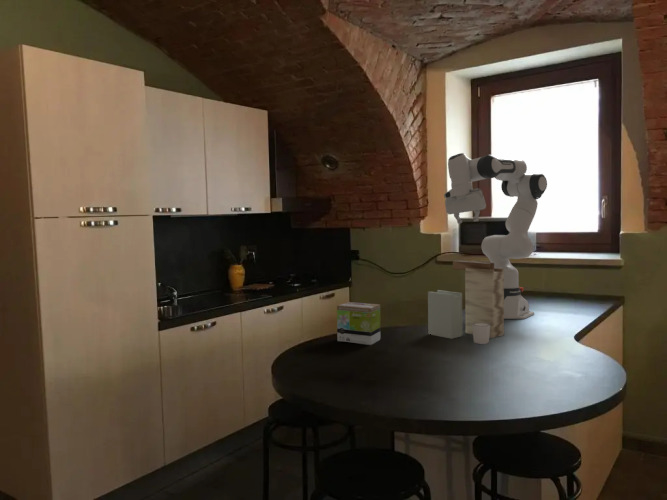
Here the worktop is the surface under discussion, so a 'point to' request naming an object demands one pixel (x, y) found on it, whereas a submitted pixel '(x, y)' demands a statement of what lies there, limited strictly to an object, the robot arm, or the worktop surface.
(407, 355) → the worktop surface
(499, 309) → the shelf block
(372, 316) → the tea box
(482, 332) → the grey brown short cylinder
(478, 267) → the walnut bar
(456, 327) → the block
